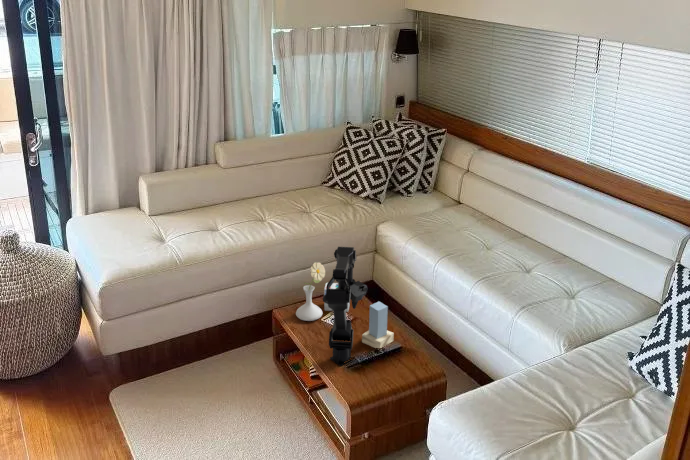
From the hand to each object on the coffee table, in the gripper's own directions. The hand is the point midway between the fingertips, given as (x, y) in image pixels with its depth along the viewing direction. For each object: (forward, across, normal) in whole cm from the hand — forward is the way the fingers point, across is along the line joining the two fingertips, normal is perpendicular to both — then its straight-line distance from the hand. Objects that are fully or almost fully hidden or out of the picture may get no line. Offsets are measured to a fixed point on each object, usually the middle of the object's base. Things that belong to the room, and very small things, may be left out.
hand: (345, 312), depth 267 cm
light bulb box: (+13, +15, +22) cm, 30 cm away
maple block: (+14, +9, -9) cm, 19 cm away
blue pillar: (+9, +9, -9) cm, 16 cm away
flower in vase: (+13, +2, +24) cm, 27 cm away
